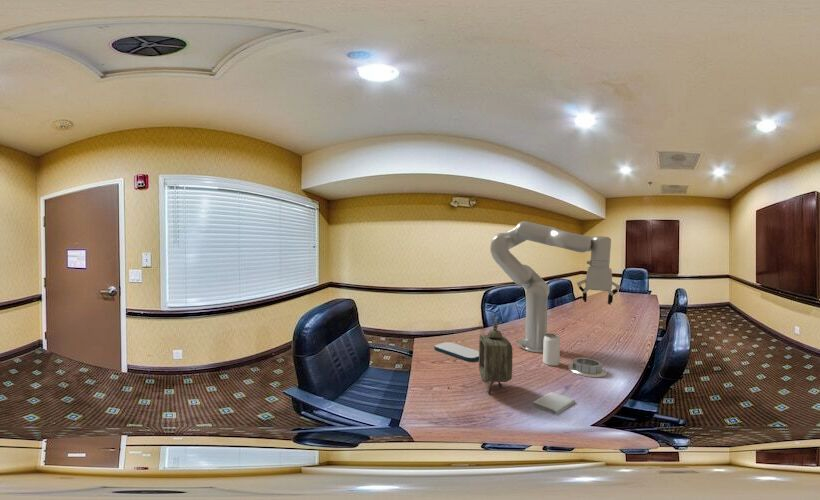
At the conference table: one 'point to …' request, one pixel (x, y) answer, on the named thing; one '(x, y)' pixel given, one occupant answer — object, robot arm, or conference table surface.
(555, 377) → the conference table surface
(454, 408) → the conference table surface
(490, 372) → the tabletop clock
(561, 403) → the hard drive
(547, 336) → the can
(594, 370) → the ring collar
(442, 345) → the external hard drive
